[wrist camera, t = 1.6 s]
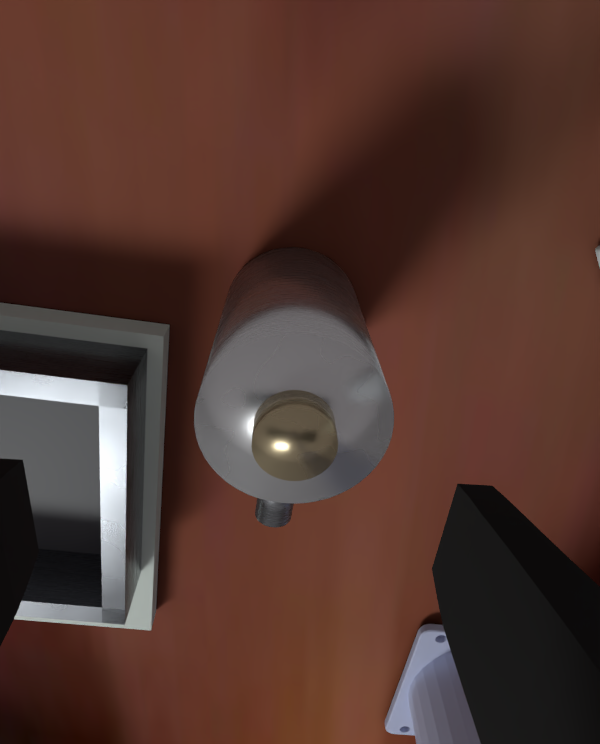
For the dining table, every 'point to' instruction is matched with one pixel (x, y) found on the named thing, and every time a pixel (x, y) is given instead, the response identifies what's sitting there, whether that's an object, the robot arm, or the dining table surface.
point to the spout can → (292, 386)
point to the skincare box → (598, 254)
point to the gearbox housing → (87, 459)
